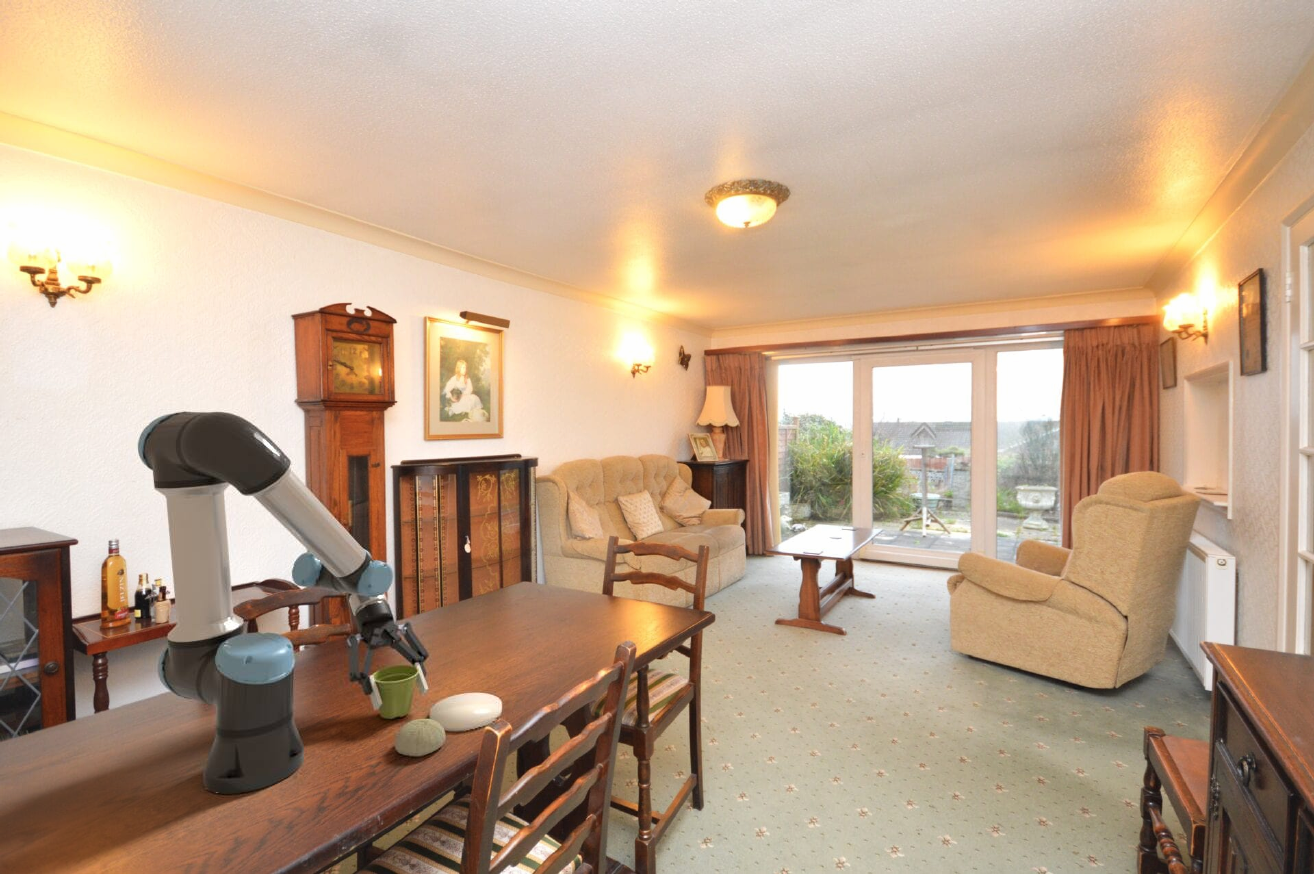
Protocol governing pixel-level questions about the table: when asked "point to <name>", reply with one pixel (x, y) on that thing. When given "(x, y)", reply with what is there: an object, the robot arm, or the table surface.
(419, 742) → the sea urchin shell
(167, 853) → the table surface
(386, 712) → the plant pot
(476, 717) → the white flat rounded piece
